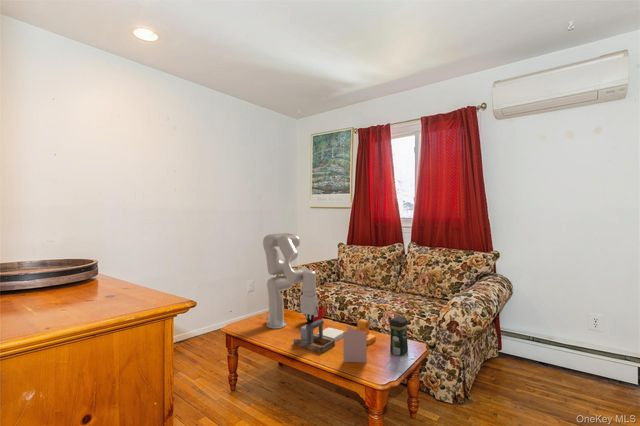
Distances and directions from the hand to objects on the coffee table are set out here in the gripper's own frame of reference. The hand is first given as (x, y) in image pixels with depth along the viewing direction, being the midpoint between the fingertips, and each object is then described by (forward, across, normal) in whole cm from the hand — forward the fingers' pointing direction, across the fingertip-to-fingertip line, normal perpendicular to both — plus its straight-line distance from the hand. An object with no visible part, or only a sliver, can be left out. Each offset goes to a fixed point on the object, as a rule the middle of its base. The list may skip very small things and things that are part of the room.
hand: (310, 325), depth 180 cm
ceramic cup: (+10, -19, +25) cm, 33 cm away
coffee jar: (+11, +44, +19) cm, 50 cm away
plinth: (+10, +4, +15) cm, 19 cm away
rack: (+10, +2, 0) cm, 11 cm away
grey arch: (+7, +3, 0) cm, 8 cm away
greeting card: (+11, +30, -3) cm, 32 cm away
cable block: (+10, -2, 0) cm, 11 cm away
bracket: (+11, +24, +21) cm, 33 cm away
